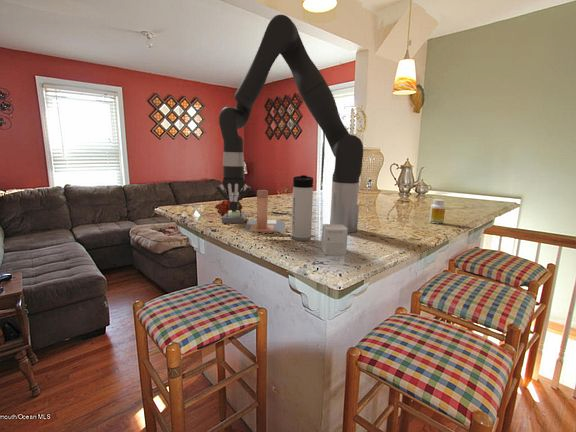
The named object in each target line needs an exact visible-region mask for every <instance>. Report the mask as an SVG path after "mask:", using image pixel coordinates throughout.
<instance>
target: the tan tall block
mask: <svg viewBox="0 0 576 432" xmlns="http://www.w3.org/2000/svg"><path fill="white" fill-rule="evenodd" d="M268 197H269V191H268V190H267V189H257V190H256V220H257V228H258V229H267V220H268V200H269V199H268Z"/></svg>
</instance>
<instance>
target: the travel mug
mask: <svg viewBox="0 0 576 432" xmlns="http://www.w3.org/2000/svg"><path fill="white" fill-rule="evenodd" d="M292 179H293V181H292V183H293V184H292V185H293V186H292V207H291V208H292V209H291V239H292V240H293V241H297V242H308V241H310V240H311V238H312V225H313V223H312V220H313V197H314V196H313V194H314V178H313V177H312V176H308V175H305V174H304V175H300V176H294V177H293V178H292Z"/></svg>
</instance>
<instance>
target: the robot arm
mask: <svg viewBox="0 0 576 432" xmlns="http://www.w3.org/2000/svg"><path fill="white" fill-rule="evenodd" d="M263 33H264V34H263V36H262V37H261V38H262V39H261V41H260V43H259V46H258V49H257V51H256V53H255V55H254V58H253V59H252V62H251V64H250V66H249V68H248V70H247V72H246V73H245V75H244V78H243V79H242V81H240V82H241V83H240V85H239V86H238V87H237V90H236V91H235V93H234V100H235V101H236V105H235V107H232V106H225V107H223V108H222V109H221V110H220V111H219V114H218V115H219V116H218V124H219V128H220V132H221V137H222V139H223V156H222V167H223V168H222V171H223V174H222V175H223V176H222V177H223V179H222V181H221V184H220V185H218V186H216V190H217V192H219V194H220V195H221V196H222V197H223V198H224V200H228V201H229V202H230V210H232V212H236V210H237V209H238V201H239V202H240V201H242V200H243V199H244V197H246V195H247V194H248V193H249V191H250V190H251V186H249V185H247V184H246V180H245V157H244V139H243V138H242V136H240V135H239V133H238V132H239V131H238V130H240V129H243V128H244V127H245V126H246V124H247V123H248V121H249V118H250V115H251V112H252V109H253V105H254V104H255V103H256V100H257V99H258V98H259V95H260V94H261V92H262V90H263V88H264V87H265V85H266V84H265V83H266V81H267V79H268V76H269V74H270V71H271V69H272V66H273V64H274V63H275V61H276V60H277V58H278V57H279V56H280V55H281V57H282V58H283V60H284V61H285V63H286V64H287V66H288V68H289V70H290V72H291V74H292V78H293V80H294V83H295V86H296V88H297V90H298V91H297V92H298V93H299V95H300V97H301V98H302V100H303V103H304V104H305V105H306V107H307V109H308V110H309V113H310V114H311V115H312V117H313V119H314V120H315V122H316V124H318V126H319V128H320V129H321V130H322V132H323V134H324V136H325V138H326V140H327V143H328V145H329V147H330V149H331V152H332V155H333V156H334V158H335V161H334V171H333V173H332V176H331V177H332V181H331V182H332V183H331V196H330V197H331V198H330V199H331V200H330V216H329V218H330V219H329V220H330V221H329V224H338V225H344V226H345V227H346V228H347V229H348V234H349V233H356V232H358V226H359V225H358V224H359V208H360V205H359V204H358V201H359V200H358V199H359V198H358V197H359V185H360V177H361V175H362V170H363V159H364V144H363V142H362V140H361V139H360V137H358V136H356V135H355V134H350V133H349V131H348V129H347V128H346V126H345V125H344V123H343V122H342V118H341V117H340V113H339V111H338V107H337V103H336V100H335V97H334V95H333V92H332V90H331V89H330V87H329V85H328V83H327V82H326V80H325V78H324V76H323V75H322V73H321V72H320V70H319V69H318V68H317V66H316V64H315V63H314V61H313V60H312V58H311V57H310V56H309V53H308V52H307V49H306V47H305V46H304V43H303V40H302V39H301V35H300V32H299V31H298V28H297V26H296V24H295V23H294V21H292V20H291V18H290V17H289V16H287V15H285V14H277V15H273V17H272V18H271V19H269V21H268V23H267V25H266V27H265V30H264V32H263ZM242 189H243V193H242V194H241V195H240V196H239V194H240V192H241V191H242ZM225 190H226V191H227V192H228V194H227V193H226V191H225Z"/></svg>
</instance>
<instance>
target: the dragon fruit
mask: <svg viewBox="0 0 576 432" xmlns="http://www.w3.org/2000/svg"><path fill="white" fill-rule="evenodd" d="M214 209H215V210H217V213H218V214H219V215H224V214H225V213H228V211H230V202H229V201H228V200H225V199H224V200H222V201H221V202H220V203H218V204H216V205H215V206H214ZM242 209H243V205H242V204H241V202H240V201H238V209H237V210H238V211H240V214H242Z"/></svg>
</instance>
